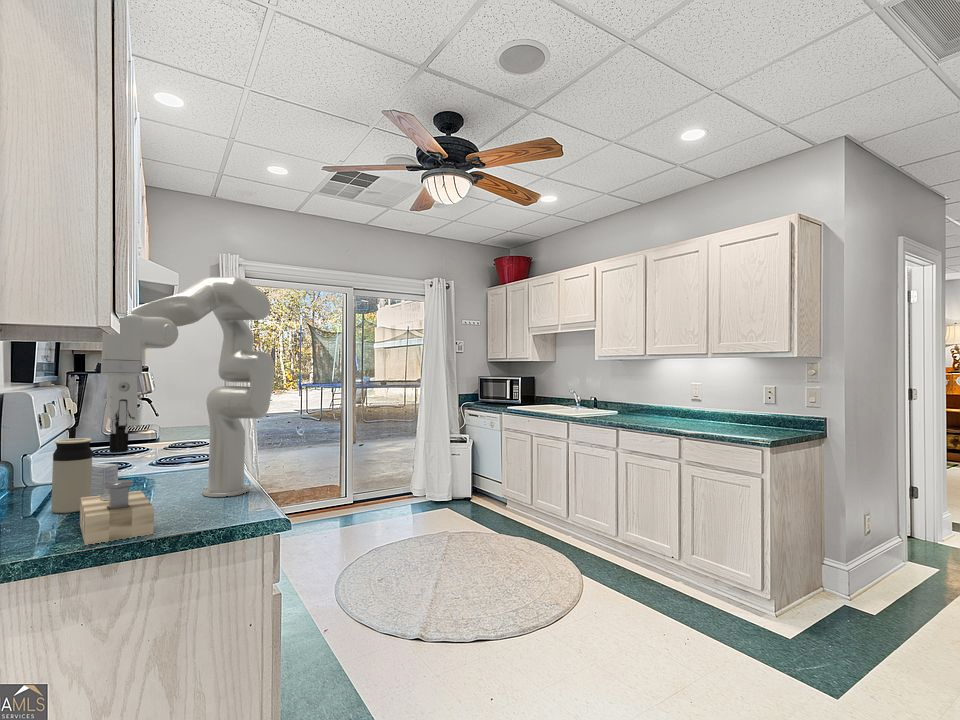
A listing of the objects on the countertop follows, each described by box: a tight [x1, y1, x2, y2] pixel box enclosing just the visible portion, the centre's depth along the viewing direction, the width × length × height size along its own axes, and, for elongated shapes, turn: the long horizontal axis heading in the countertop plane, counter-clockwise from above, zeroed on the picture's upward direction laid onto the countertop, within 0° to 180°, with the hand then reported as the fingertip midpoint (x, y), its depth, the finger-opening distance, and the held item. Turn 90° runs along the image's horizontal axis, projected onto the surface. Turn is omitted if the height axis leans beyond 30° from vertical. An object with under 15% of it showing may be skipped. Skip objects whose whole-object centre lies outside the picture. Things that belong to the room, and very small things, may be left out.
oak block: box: [79, 490, 155, 546], centre depth 118 cm, size 20×12×6 cm, turn 40°
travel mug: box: [50, 437, 93, 514], centre depth 133 cm, size 8×8×18 cm
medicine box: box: [91, 462, 119, 496], centre depth 149 cm, size 8×4×9 cm, turn 77°
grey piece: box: [105, 479, 134, 510], centre depth 114 cm, size 5×5×7 cm
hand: (118, 451), depth 114 cm, fingers closed
